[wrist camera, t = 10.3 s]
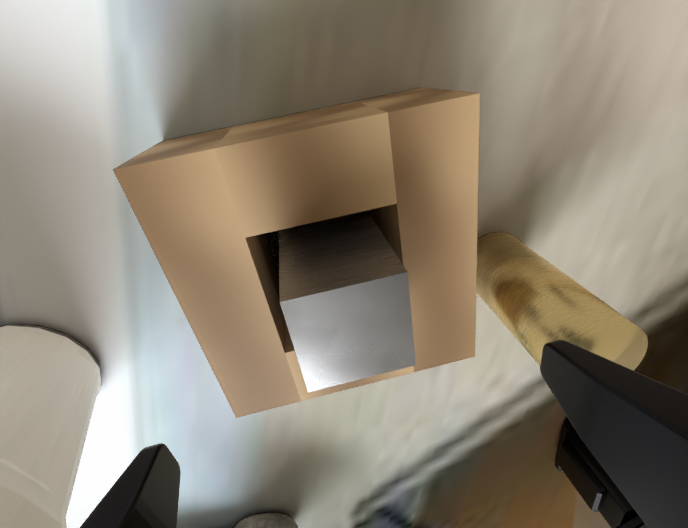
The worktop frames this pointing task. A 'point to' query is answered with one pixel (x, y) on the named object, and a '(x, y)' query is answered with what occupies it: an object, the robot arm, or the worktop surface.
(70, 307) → the worktop surface
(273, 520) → the pipe
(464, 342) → the socket block
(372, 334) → the square bit
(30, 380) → the cup
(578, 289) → the round dowel
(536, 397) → the worktop surface
